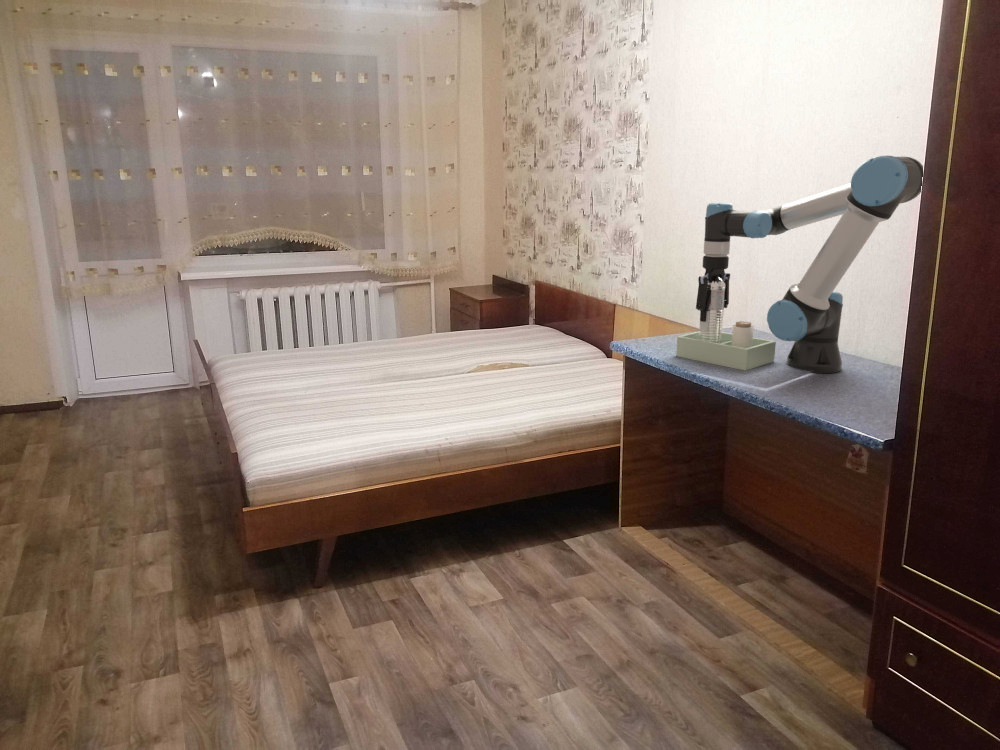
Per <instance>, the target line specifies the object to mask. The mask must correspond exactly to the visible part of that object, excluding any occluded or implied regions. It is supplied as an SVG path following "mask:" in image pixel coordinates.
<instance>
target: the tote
mask: <svg viewBox="0 0 1000 750" xmlns="http://www.w3.org/2000/svg"><path fill="white" fill-rule="evenodd" d="M676 338H677V339H676V353H675V354H676V357H679V358H684V359H687V360H692V361H693V360H694V361H698V362H702V363H703V362H704V363H707V364H712V365H716V366H722V367H725V368H726V367H727V368H730V369H736V370H740V371H741V370H742V371H745V372H746V371H749V370H751V369H755V368H758V367H760V366H764V365H767V364H770V363H774V362H775V354H776V346H777V345H776V344H777V343H776V341H775V340H769V339H765V338H764V339H763V338H757V337H753V343H752V347H749V348H741V347H735V346H731V342H732V333H730V332H723V331H722V338H721V339H722V340H721V344H719V343H714V342H708V341H703V340H699V331H695V332H690V333H687V334H682V335H679V336H677V337H676Z"/></svg>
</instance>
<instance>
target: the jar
mask: <svg viewBox="0 0 1000 750" xmlns="http://www.w3.org/2000/svg"><path fill="white" fill-rule="evenodd" d="M754 328H755V326H754V325H752V322H750V321H744V320H743V321H741V320H740V321H735V324H733V325H732V328H731V329H732V333H731V334H732V342H731V346H735V347H741V348H749V347H752V343H753V338H754V332H755V331H754V330H755V329H754Z"/></svg>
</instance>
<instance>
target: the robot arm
mask: <svg viewBox="0 0 1000 750" xmlns="http://www.w3.org/2000/svg"><path fill="white" fill-rule="evenodd" d="M923 167H924V166H923V164H922V163H921V162H920V161H919V160H918V159H915V158H914V157H910V156H893V155H879V156H875V157H873V158H869V159H867V160H866V161H864V162H862V163H861V164H860V165H859V166H858V167H857V168H856V170H855V171H854V173H852V177H851V180H850V183H847V184H844V185H842V186H839V187H835V188H831V189H829V190H826V191H823V192H820V193H817V194H814V195H811V196H807V197H804V198H801V199H798V200H795V201H792V202H789V203H785V204H783V205H779V206H777V207H773V208H770V209H769V208H768V209H759V210H757V209H756V210H737V209H736V210H734V206H733V203H730V202H729V203H728V202H711V203H708V204H707V206H706V211H705V212H706V213H705V217H704V221H705V225H704V239H703V240H704V241H703V242H704V243H703V254H704V255H703V256H702V268H703V269H705V272H704V275H703V276H699V277H698V278H697V279H698V281H697V282H698V286H697V287H698V288H697V296H696V303H695V304H696V305H695V309H696V310H697V311H699V329H700V330H699V331H701V332H708V330H709V316H710V311H708V309H709V305H710V301H711V291H712V290H707V289H708V282H709V283H712V282H713V280H714V283H715V281H717V280H718V279H719V277H720V278H721V279H722V280H723V281H724V283H725V293H724V307H723V310H724V309H727V308H728V306H729V303H730V279H731V273H728V272H725V270H727V269H728V268H729V263H730V261H729V260H730V257H729V256H728V255H729V254H730V250H731V249H730V247H731V237H740V238H751V239H763V238H766V237H767V236H778V235H781V234H784V233H785V232H787V231H791V230H794V229H797V228H800V227H803V226H807V225H811V224H814V223H817V222H821V221H824V220H827V219H831V218H834V217H839V216H841V217H840V218H839V220H838V222H837V224H836V225H835V226H834V228H833V229H832V231H831V233H830V234H829V236H828V238H827V239H826V240H825V242H824V244H823V245H822V247H821V248H820V250H819V252H818V253H817V255H815V258H814V259H813V261H812V263H811V264H810V266H809V267H808V268H807V271H806V272H805V273H804V275H803V277H802V278H801V280H800V281H799V283H794V284H792V285H791V286H790V287H789V288H788V290H787V291H786V293H785V294H784V296H783V298H782V299H781V300H777V301H776V302H774V303H772V305H771V306H770V307H769V309H768V311H767V317H766V321H767V325H768V328H769V330H770V333H772V334H773V335H774V337H775V338H777V339H779V340H782V341H784V342H793V345H792V346H791V349H790V350H789V353H788V354H787V355H788V356H787V358H786V365H788V366H790V367H792V368H794V369H799V370H803V371H811V372H810V373H813V374H832V373H833V374H834V373H839V372H840V371H842V365H843V360H842V356H841V353H840V347H839V336H840V335H839V334H840V327H841V319H842V318H841V317H842V311H843V307H844V304H843V300H844V299H843V298H844V297H843V295H842V294H841V292H838V291H837V292H836V291H835V289H836V287H837V286H838V285H839V283H840V281H841V280H842V279H843V277H844V275H846V273H847V271H848V270H849V268H850V267H851V266H852V264H853V263H854V261H855V259H856V258H857V256H858V255H859V253H860V251H862V249H863V247H864V246H865V244H866V243H867V241H868V240H869V238H870V237H871V235H872V234H873V233H874V231H875V229H876V228H877V226H878V225H879V223H881V222H885V221H889V219H891V217H892V216H893V214H894V213H895V211H896V209H897V208H898V207H899V205H900V204H904V203H905V204H906V203H909V202H911V201H912V200H915V198H917V197H918V196H919V195H920V194H921V193H922V192H921V186H922V177H923ZM713 288H714V287H712V289H713ZM724 311H725V310H724ZM723 314H724V312H723ZM699 331H698V332H699Z"/></svg>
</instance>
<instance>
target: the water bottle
mask: <svg viewBox="0 0 1000 750" xmlns="http://www.w3.org/2000/svg"><path fill="white" fill-rule="evenodd" d="M724 281H725V280H724ZM724 281H723V280H722V279H721V278H720V277H719V279H718V280H717V281H715V283H714V280H713V282H712V283H709V282H708V289H707V290H712V291H711V301H710V305H709V309H708V311H710V316H709V330H708V332H701V331H698V332H699V340H703V341H708V342H714V343H719V344H721V340H722V339H721V338H722V332H723V325H724V313H723V312H724V311H725V310H723V307H724V293H725V283H724ZM712 287H714V288H713V289H712ZM699 330H700V328H699Z"/></svg>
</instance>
